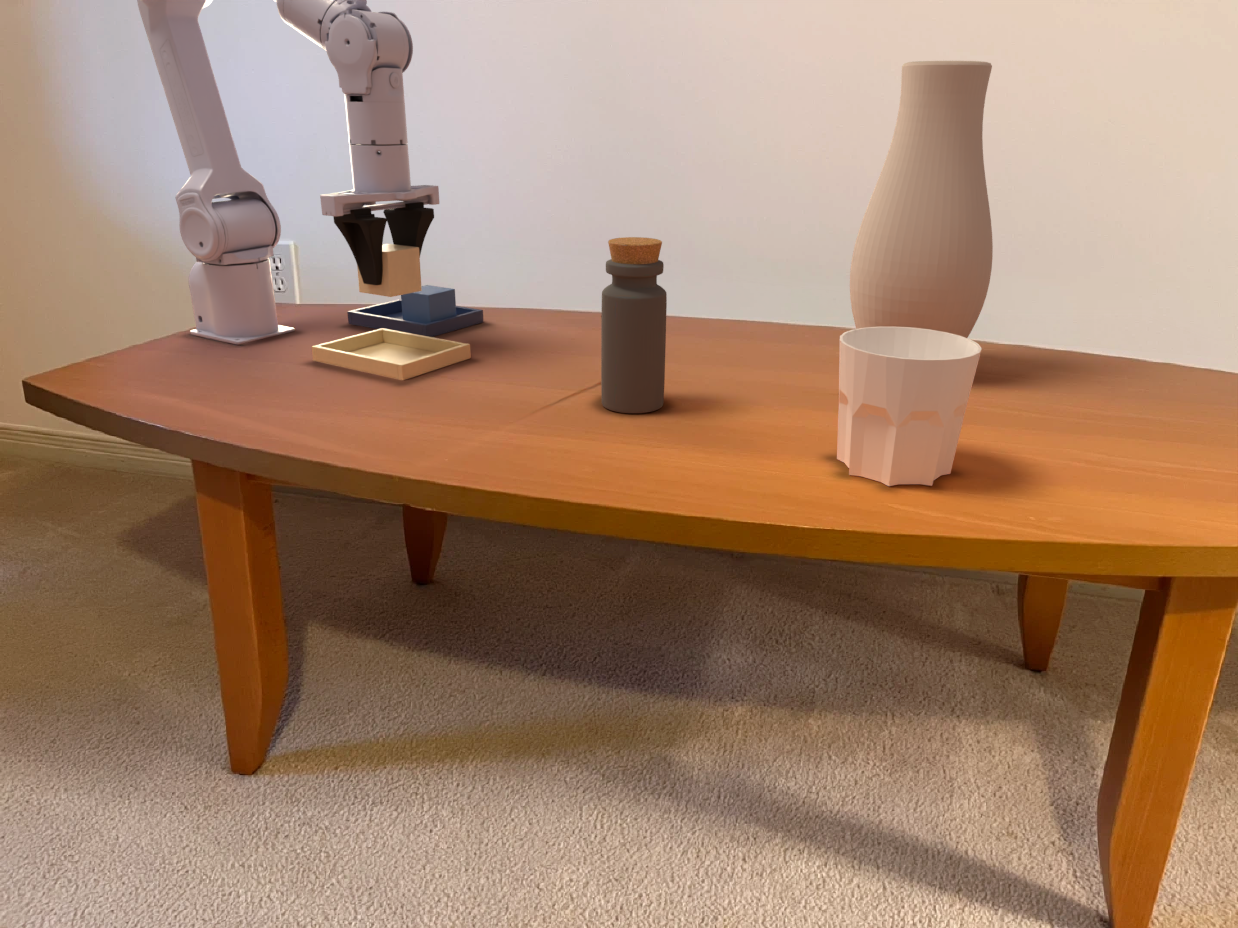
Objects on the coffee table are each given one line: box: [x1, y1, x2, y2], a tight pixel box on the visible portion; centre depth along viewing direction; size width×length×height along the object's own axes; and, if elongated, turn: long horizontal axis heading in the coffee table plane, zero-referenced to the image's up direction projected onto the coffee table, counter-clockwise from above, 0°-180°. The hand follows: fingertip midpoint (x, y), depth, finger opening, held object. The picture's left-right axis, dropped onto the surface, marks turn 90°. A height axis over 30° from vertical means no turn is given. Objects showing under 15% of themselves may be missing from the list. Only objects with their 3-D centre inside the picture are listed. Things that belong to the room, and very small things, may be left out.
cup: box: [836, 327, 983, 487], centre depth 68 cm, size 10×10×10 cm
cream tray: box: [311, 328, 471, 381], centre depth 96 cm, size 13×10×2 cm
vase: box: [849, 60, 994, 339], centre depth 91 cm, size 14×14×30 cm
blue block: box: [400, 284, 457, 324], centre depth 109 cm, size 5×5×5 cm
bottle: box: [600, 236, 668, 414], centre depth 81 cm, size 6×6×15 cm
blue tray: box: [347, 298, 484, 337], centre depth 112 cm, size 13×10×2 cm
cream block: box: [356, 243, 422, 298], centre depth 95 cm, size 5×5×5 cm
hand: (390, 280), depth 95 cm, fingers closed on cream block, 4 cm apart
